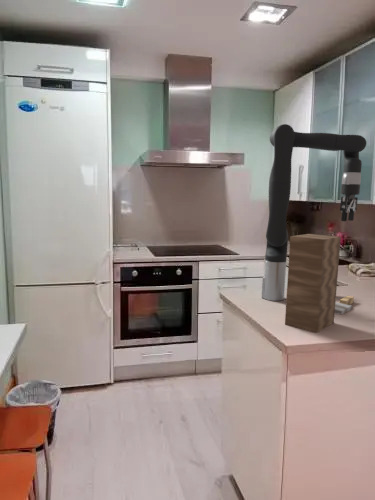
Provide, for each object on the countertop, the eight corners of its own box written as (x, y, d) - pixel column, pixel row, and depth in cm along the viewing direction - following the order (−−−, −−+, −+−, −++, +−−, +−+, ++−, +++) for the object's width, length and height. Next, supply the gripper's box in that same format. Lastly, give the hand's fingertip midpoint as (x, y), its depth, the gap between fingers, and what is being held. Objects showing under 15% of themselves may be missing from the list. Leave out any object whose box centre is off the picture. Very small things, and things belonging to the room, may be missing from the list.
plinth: (316, 332, 135) (323, 239, 131) (284, 324, 143) (290, 236, 138) (333, 322, 146) (340, 236, 142) (303, 315, 154) (308, 233, 150)
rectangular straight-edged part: (341, 314, 157) (342, 308, 157) (321, 310, 162) (322, 304, 162) (359, 303, 174) (360, 297, 173) (341, 300, 179) (341, 294, 178)
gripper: (347, 184, 179) (344, 219, 182) (336, 182, 169) (332, 220, 171) (365, 184, 175) (361, 221, 177) (354, 182, 164) (350, 222, 166)
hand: (347, 220), depth 174 cm, fingers open, 8 cm apart
